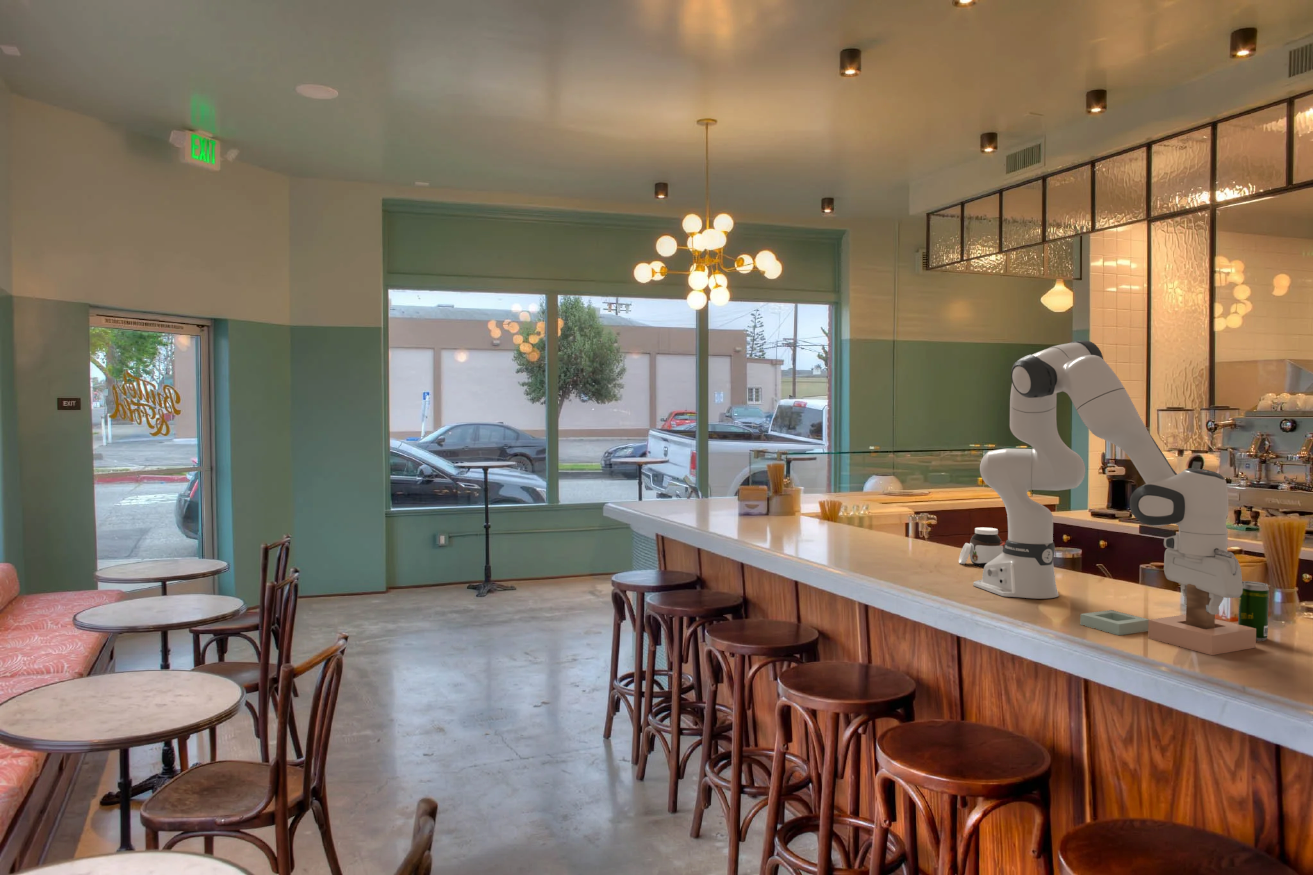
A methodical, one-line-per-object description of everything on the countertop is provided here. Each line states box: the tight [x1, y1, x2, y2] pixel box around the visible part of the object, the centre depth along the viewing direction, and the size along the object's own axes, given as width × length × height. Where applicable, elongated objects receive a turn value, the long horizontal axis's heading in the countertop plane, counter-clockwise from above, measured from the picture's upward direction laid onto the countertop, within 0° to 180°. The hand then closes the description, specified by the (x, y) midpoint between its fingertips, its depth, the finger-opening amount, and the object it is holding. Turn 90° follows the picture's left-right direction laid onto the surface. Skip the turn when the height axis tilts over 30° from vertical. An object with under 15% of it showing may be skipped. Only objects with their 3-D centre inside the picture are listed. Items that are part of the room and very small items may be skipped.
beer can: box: [1237, 580, 1270, 642], centre depth 187 cm, size 5×5×12 cm
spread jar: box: [958, 526, 1004, 568], centre depth 272 cm, size 12×11×12 cm
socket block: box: [1147, 614, 1257, 656], centre depth 184 cm, size 14×14×4 cm
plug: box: [1185, 584, 1216, 629], centre depth 184 cm, size 4×4×10 cm
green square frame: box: [1079, 609, 1151, 636], centre depth 196 cm, size 10×10×2 cm
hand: (1201, 609), depth 184 cm, fingers closed on plug, 6 cm apart
